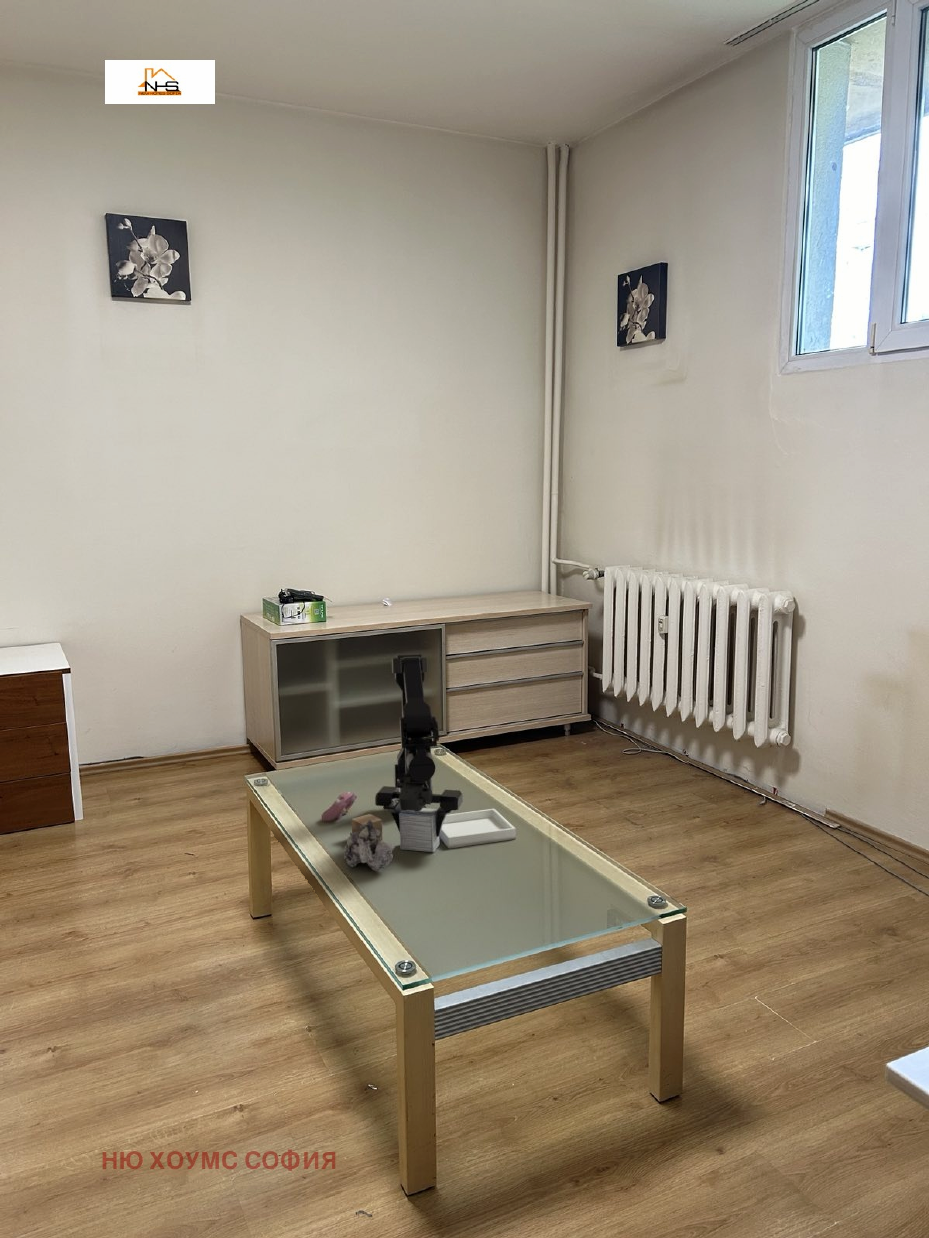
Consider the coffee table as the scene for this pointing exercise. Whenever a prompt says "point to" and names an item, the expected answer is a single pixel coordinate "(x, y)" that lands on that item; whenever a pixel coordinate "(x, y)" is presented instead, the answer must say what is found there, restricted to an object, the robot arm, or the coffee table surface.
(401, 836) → the medicine box
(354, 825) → the walnut block
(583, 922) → the coffee table surface
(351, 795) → the pink crystal rock
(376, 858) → the mineral specimen
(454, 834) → the tray
